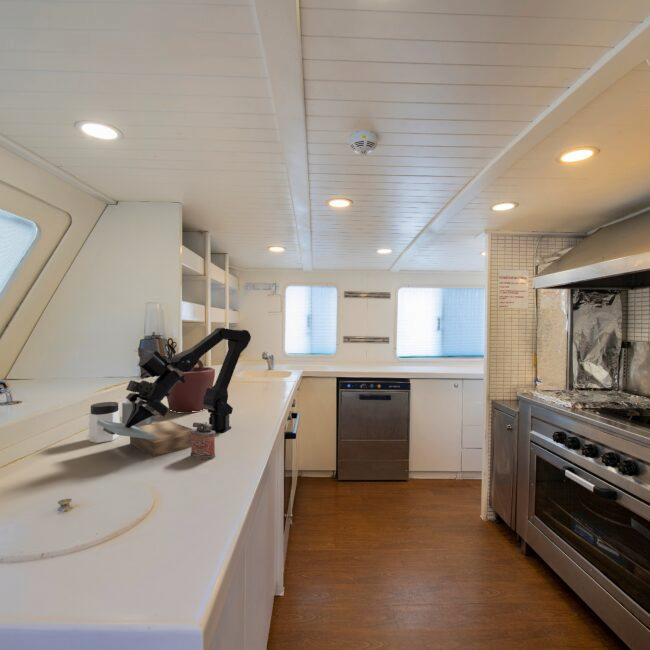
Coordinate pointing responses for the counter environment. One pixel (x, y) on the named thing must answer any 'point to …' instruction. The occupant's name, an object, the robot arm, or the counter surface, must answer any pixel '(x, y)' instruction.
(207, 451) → the lighter
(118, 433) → the grey flat slab
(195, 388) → the bucket
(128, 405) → the grey mug
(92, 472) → the counter surface
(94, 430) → the jar
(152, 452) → the cart bed
